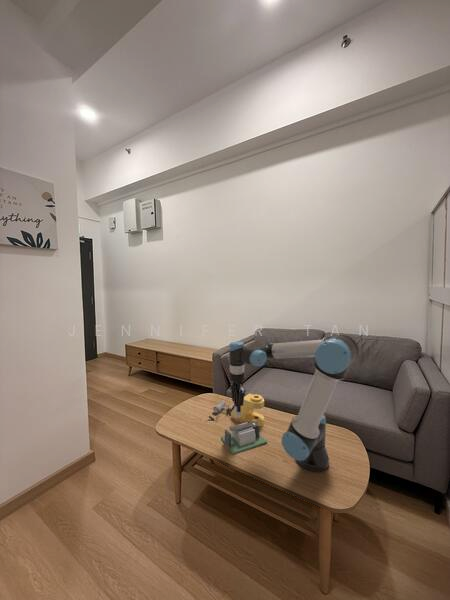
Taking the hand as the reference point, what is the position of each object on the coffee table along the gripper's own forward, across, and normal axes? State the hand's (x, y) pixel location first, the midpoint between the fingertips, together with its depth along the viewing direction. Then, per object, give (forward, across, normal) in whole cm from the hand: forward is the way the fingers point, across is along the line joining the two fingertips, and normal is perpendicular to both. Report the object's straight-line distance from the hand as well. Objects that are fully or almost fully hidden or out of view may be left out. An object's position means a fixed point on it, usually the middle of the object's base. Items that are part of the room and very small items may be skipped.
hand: (237, 416), depth 127 cm
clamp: (+14, +17, -16) cm, 28 cm away
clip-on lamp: (+14, +30, -4) cm, 33 cm away
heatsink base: (+14, +1, -4) cm, 15 cm away
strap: (+7, +1, -3) cm, 7 cm away
